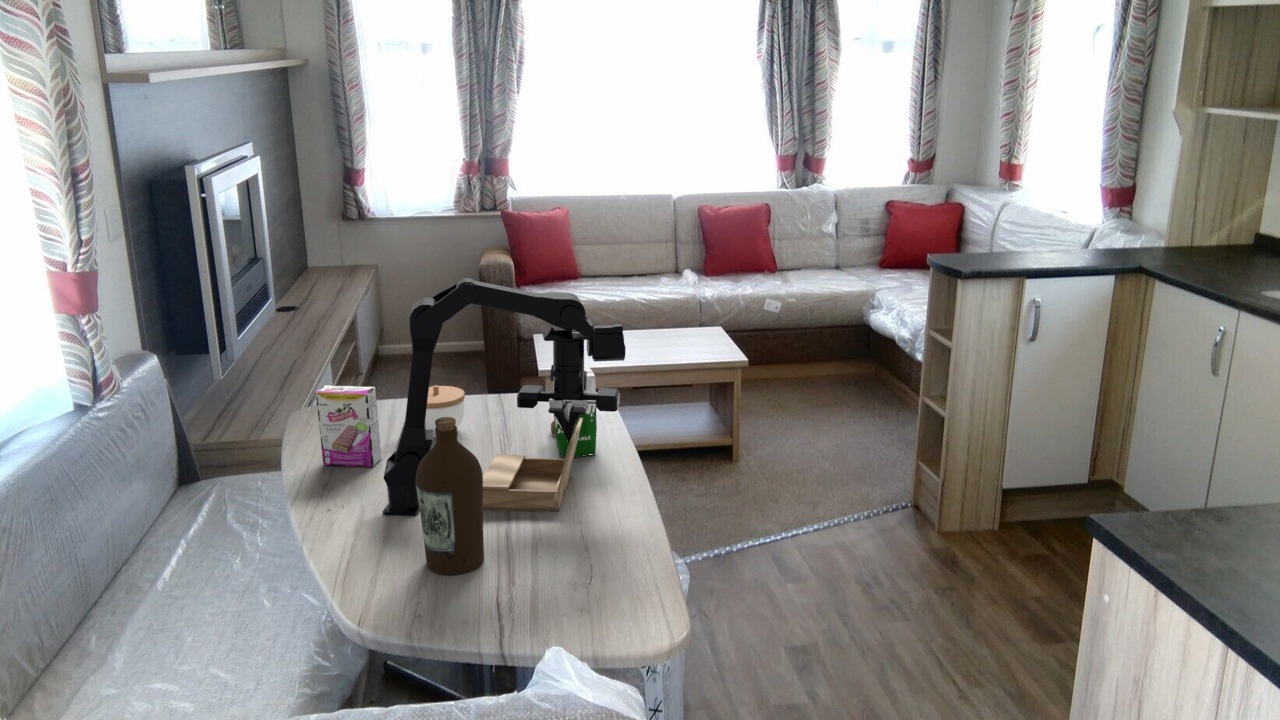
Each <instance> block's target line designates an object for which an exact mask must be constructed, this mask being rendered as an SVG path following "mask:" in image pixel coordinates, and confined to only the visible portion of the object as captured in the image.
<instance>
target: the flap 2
mask: <svg viewBox="0 0 1280 720" xmlns="http://www.w3.org/2000/svg"><path fill="white" fill-rule="evenodd" d="M582 421H583V418H580V419H579V421H578V424H577V426H576V429H575V431H574V433H573V436H572V438H571V441H570V443H569V445H568V449H567V453H566V457H565V461H564V465H563V469H562V474H561V478H560V482H559V486H558V490H557V491H559V492H561V489H562V487H563V484H564V482H565V479H566V477H567V474H568V471H569V469H570V466H571V467H572V463H573V460H574V458H575V457H574V454H575V450H576V446H577V441H578V437H579V433H580V429H581V425H582Z"/></svg>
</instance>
